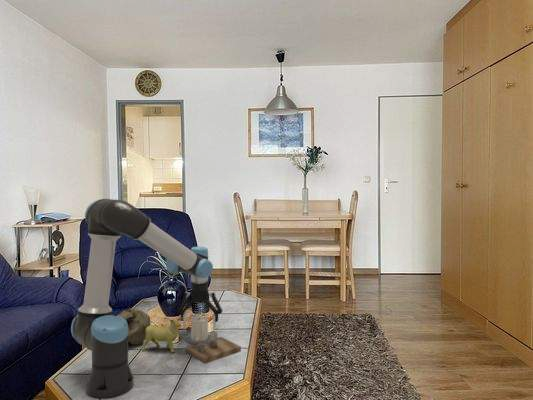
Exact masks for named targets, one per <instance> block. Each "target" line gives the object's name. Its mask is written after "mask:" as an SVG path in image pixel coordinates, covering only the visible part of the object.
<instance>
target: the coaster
mask: <svg viewBox="0 0 533 400" xmlns="http://www.w3.org/2000/svg"><path fill="white" fill-rule="evenodd" d="M207 341H210V334H208V338H207V339H206V340H203V341H198V342H196V341H194V340H192V339H191V335H189V336H188V337H187V338H186V342H187V343H188V344H190V345H197V344H200V343H203V342H207Z"/></svg>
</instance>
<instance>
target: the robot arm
mask: <svg viewBox="0 0 533 400" xmlns="http://www.w3.org/2000/svg"><path fill="white" fill-rule="evenodd" d="M84 219H85V222H86V224H87V226H88V227H87V235H88V236H89V238H90V239H91V241H90V249H89V256H88V264H87V272H86V279H85V280H86V282H85V288H84V298H83V303H82V305H81V306H80V307H78V308H77V314H76V316H75V317H74V318H73V319H72V321H71V327H70V332H71V336H72V337H73V339H75V341H76V342H77V343H78V344H79V345H80V346H83V347H85V348H86V349H88V350H89V351H91V369H90V370H91V371H90V373H89V376H88V379H87V382H86V393H87V395H88V396H90V397H92V398H97V399H107V398H108V399H109V398H114V397H117V396H121V395H123V394H125V393H127V392H129V391H130V390H131V389H132V388H133V387H134V374H133V372H132V370H131V367H130V364H129V341H128V324H127V321H126V320H125V319H124V318H122V317H120V316H117V315H113V314H112V313H113V308H112V307H111V306H110V305H109V302H110V296H111V295H110V293H111V288H112V287H111V285H112V279H113V278H112V277H113V271H114V270H113V268H114V263H115V262H114V261H115V253H116V243H117V240H119V239H120V238H121V237H122V235H125V236H126V237H128V238H130V239H132V240H133V241H136V240H138V241H140V242H141V243H143V244H144V245H146V246H147V247H149V248H150V249H152V250H154V251H156V252H157V253H159V254H161V255H162V256H164V257H165V258H166V260H165V267H166V269H167V272H168V273H170V274H178V273H183V274H186V275H189V276H190V281H191V283H190V292H188V291H185V292H184V293H183V298H182V299H181V301H180V303H179V305H178V307H177V310H176V313H178V314H180V318H181V317H182V319H181V320H180V322H182V329H183V330H185V329H186V328H187V312H186V311H187V310H188V308H190V306H191V305H192V304H193V303H194V302H195V303H197V304H199V303H200V304H202V303H204V304H205V305H207V306H208V308H209V309H210V310H211V311H212V312H213V315H212V316H213V317H212V321H213V322H212V323H213V325H212V326H213V330H214V331H215V330H216V328H217V323H218V322H219V315H221V314H222V313H223V308H222V307H221V305H220V303H219V301H218V299H217V297H216V292H215V291H213V292H209V277H210V276H211V274H212V273H213V270H214V266H213V263H212V261H211V260H209V250H208V248H207V247H206V246H193V247H191V249H190V248H188V247H186V246H185V245H184V244H183V243H181V242H179V241H178V240H177V239H175V238H174V237H173V236H171V235H169V234H168V233H167V232H165V231H164V230H162V229H161V228H159V227H158V226H157V225H156V224H155V223H153V222H151V221H152V220H151V217H149V216H148V215H146V214H145V213H144V212H142V211H140V210H139V209H138V208H137V207H135V206H134V205H133V204H131V203H129V202H127V201H126V200H123V199H112V198H101V199H100V198H99V199H96V200H94V201H92V202H91V203H89V205H88V206H87V208H86V210H85V213H84ZM189 297H190V298H191V300H190V301H189V302H188V303H187V304H186V306H185V307H184V308H183V306H184V304H185V302H186V300H187V299H188V298H189ZM208 297H210V298H211V300H212V301H213V303H214V304H213V303H212V302H211V301H210V299H209V298H208ZM214 305H215V306H214Z"/></svg>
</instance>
